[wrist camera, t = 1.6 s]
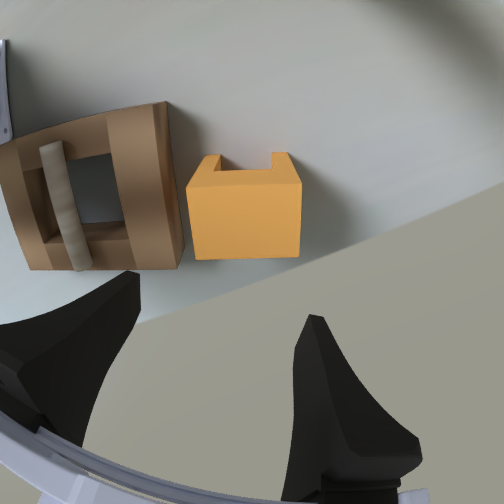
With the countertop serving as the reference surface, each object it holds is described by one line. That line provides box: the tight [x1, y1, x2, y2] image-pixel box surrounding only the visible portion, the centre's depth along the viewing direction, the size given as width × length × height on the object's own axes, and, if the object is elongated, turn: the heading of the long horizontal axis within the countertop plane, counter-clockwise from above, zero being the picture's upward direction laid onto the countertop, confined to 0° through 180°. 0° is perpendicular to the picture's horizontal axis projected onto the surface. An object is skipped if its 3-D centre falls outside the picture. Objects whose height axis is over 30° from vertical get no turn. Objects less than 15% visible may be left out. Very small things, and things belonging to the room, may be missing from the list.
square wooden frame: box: [0, 101, 185, 272], centre depth 18 cm, size 11×14×5 cm
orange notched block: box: [186, 152, 302, 260], centre depth 17 cm, size 4×5×6 cm
